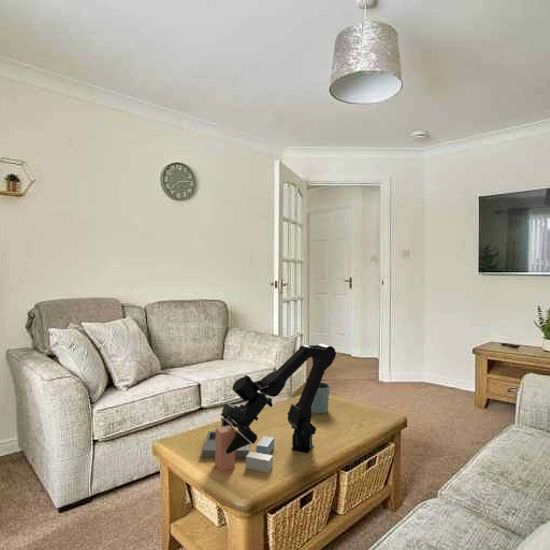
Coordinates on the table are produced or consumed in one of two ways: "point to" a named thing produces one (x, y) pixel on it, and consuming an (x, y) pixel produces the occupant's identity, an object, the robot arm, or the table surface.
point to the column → (224, 448)
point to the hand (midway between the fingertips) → (221, 447)
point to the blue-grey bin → (321, 399)
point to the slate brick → (265, 445)
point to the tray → (210, 447)
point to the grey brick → (259, 461)
